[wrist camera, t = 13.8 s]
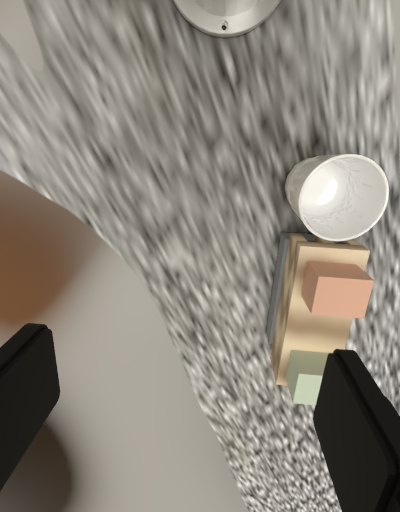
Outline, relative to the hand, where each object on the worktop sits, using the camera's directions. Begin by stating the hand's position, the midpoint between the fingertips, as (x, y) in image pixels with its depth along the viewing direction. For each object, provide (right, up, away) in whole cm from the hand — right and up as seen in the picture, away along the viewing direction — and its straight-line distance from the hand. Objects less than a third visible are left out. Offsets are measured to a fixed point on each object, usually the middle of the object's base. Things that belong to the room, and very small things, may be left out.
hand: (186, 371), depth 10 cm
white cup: (+14, +13, +27) cm, 33 cm away
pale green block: (+13, -9, +26) cm, 31 cm away
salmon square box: (+14, +1, +22) cm, 26 cm away
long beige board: (+14, -2, +29) cm, 32 cm away
